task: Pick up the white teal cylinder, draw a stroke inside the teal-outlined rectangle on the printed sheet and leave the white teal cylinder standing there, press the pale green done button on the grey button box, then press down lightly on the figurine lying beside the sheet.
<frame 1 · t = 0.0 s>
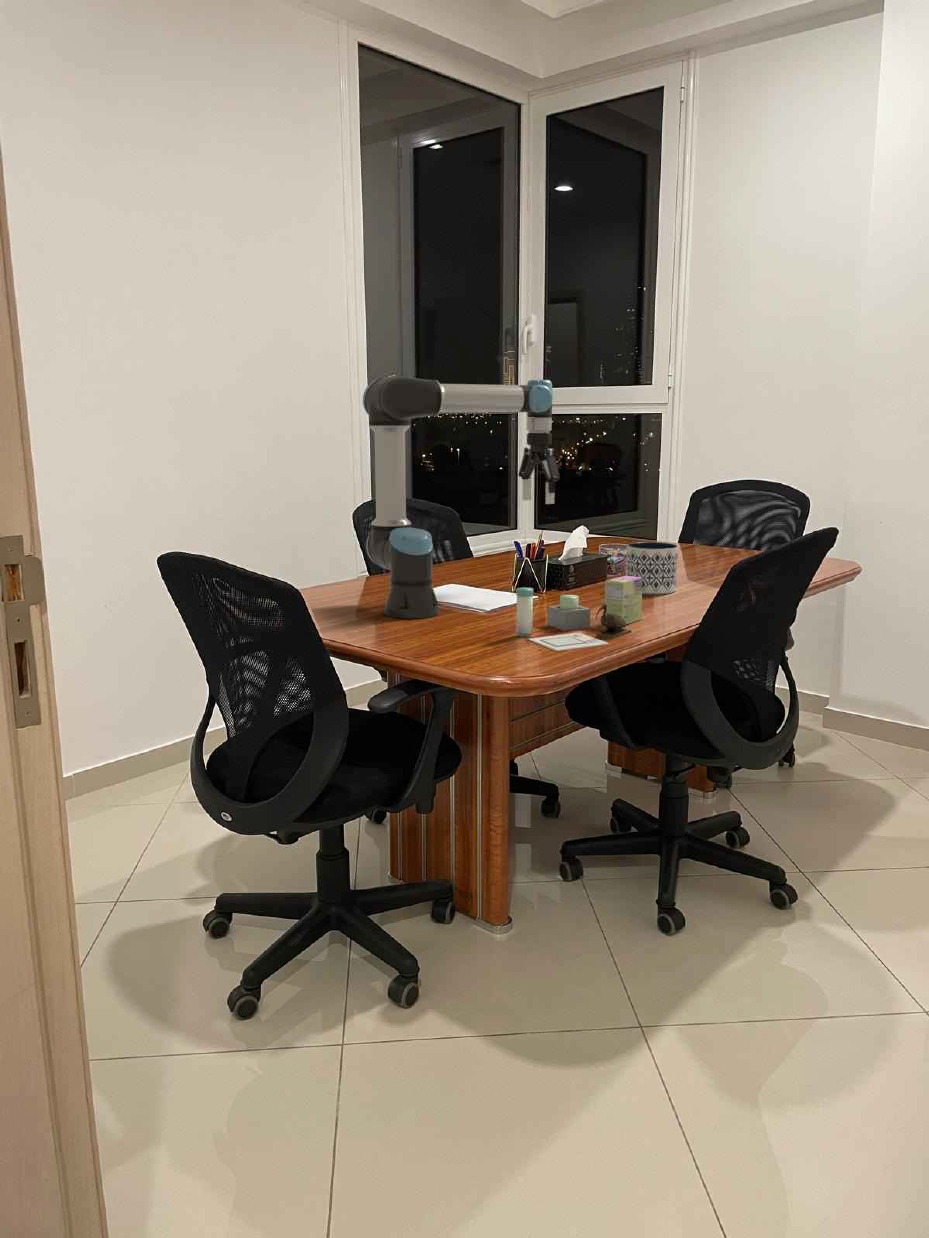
hand: (538, 502, 296), 28 cm above the table, fingers open, 13 cm apart
button box: (568, 626, 252), on the table
figurine: (610, 637, 241), on the table
white teal cylinder: (524, 635, 241), on the table
box: (622, 622, 257), on the table
done button: (569, 607, 251), point 5 cm above the table, slide at 0.0 cm
planter: (650, 591, 303), on the table
sheet: (568, 642, 234), on the table
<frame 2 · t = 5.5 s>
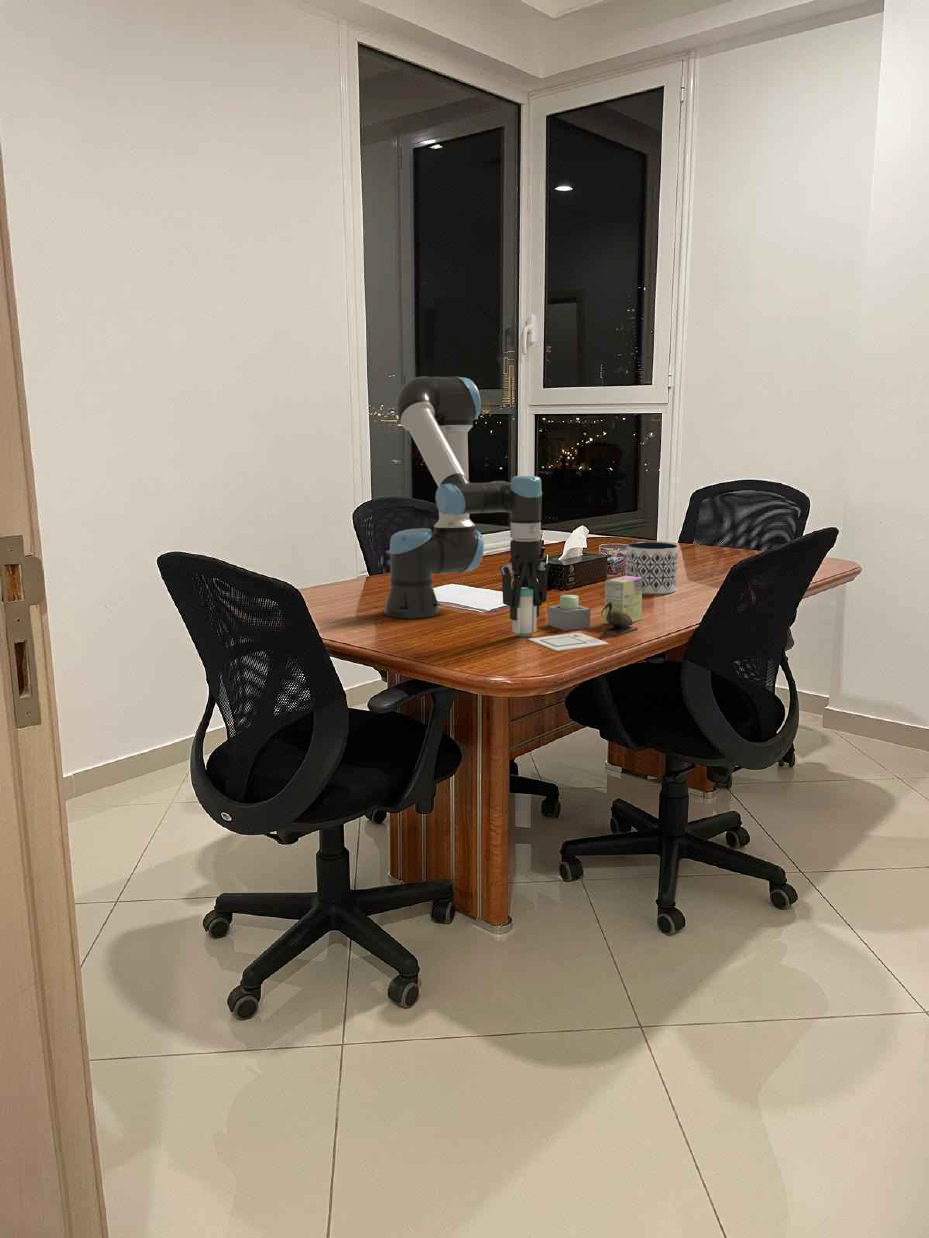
hand: (524, 631, 241), 1 cm above the table, fingers closed on white teal cylinder, 4 cm apart
figurine: (615, 634, 244), on the table
white teal cylinder: (524, 635, 241), on the table, touching gripper
everything else where it was.
when the fingers open (2 cm above the table, at t = 10.0 s): white teal cylinder stays where it is, resting on sheet.
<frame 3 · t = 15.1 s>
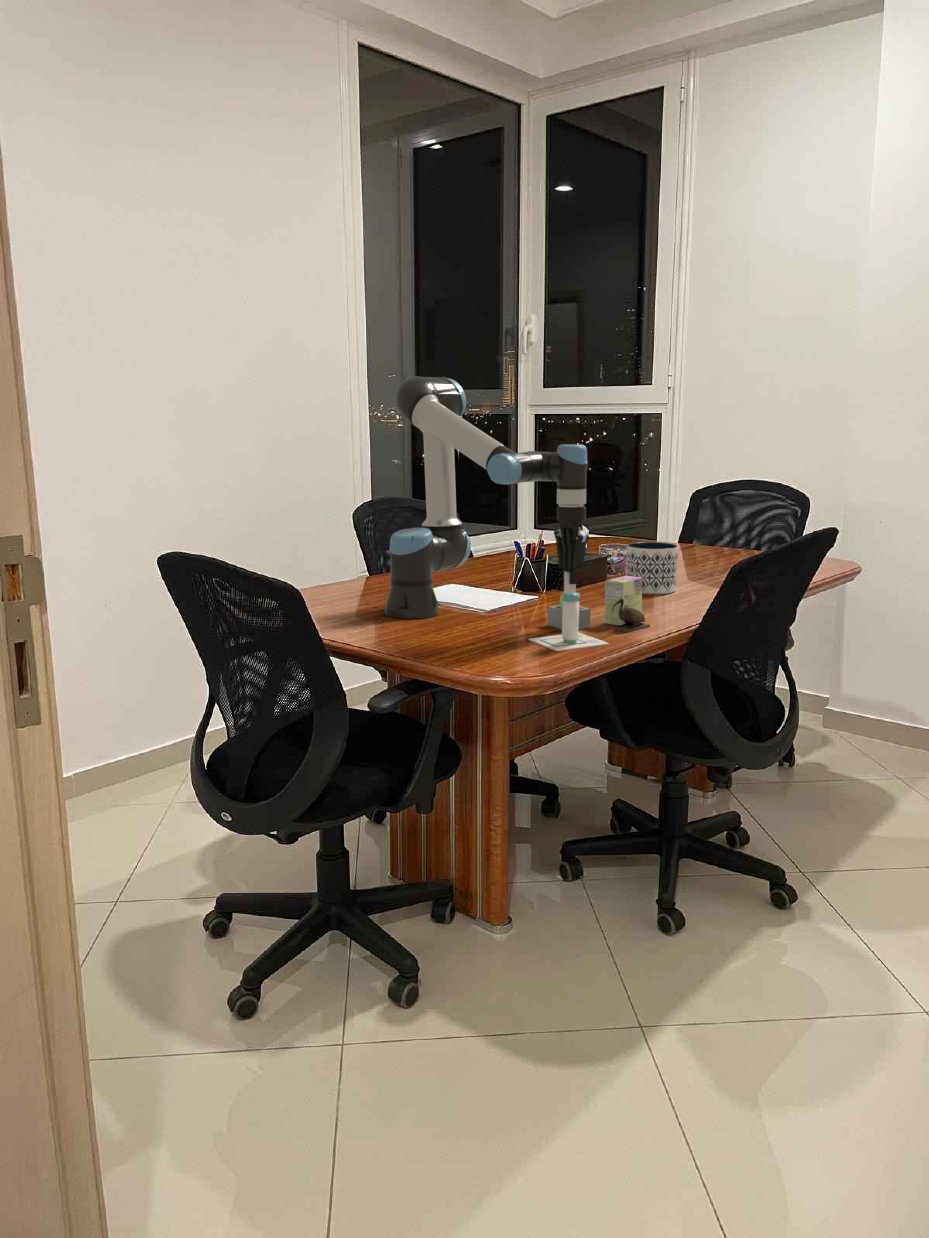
hand: (569, 595, 250), 8 cm above the table, fingers closed
figurine: (627, 630, 248), on the table
white teal cylinder: (570, 642, 233), resting on sheet
done button: (569, 607, 251), point 5 cm above the table, slide at 0.1 cm, touching gripper
everything else where it was.
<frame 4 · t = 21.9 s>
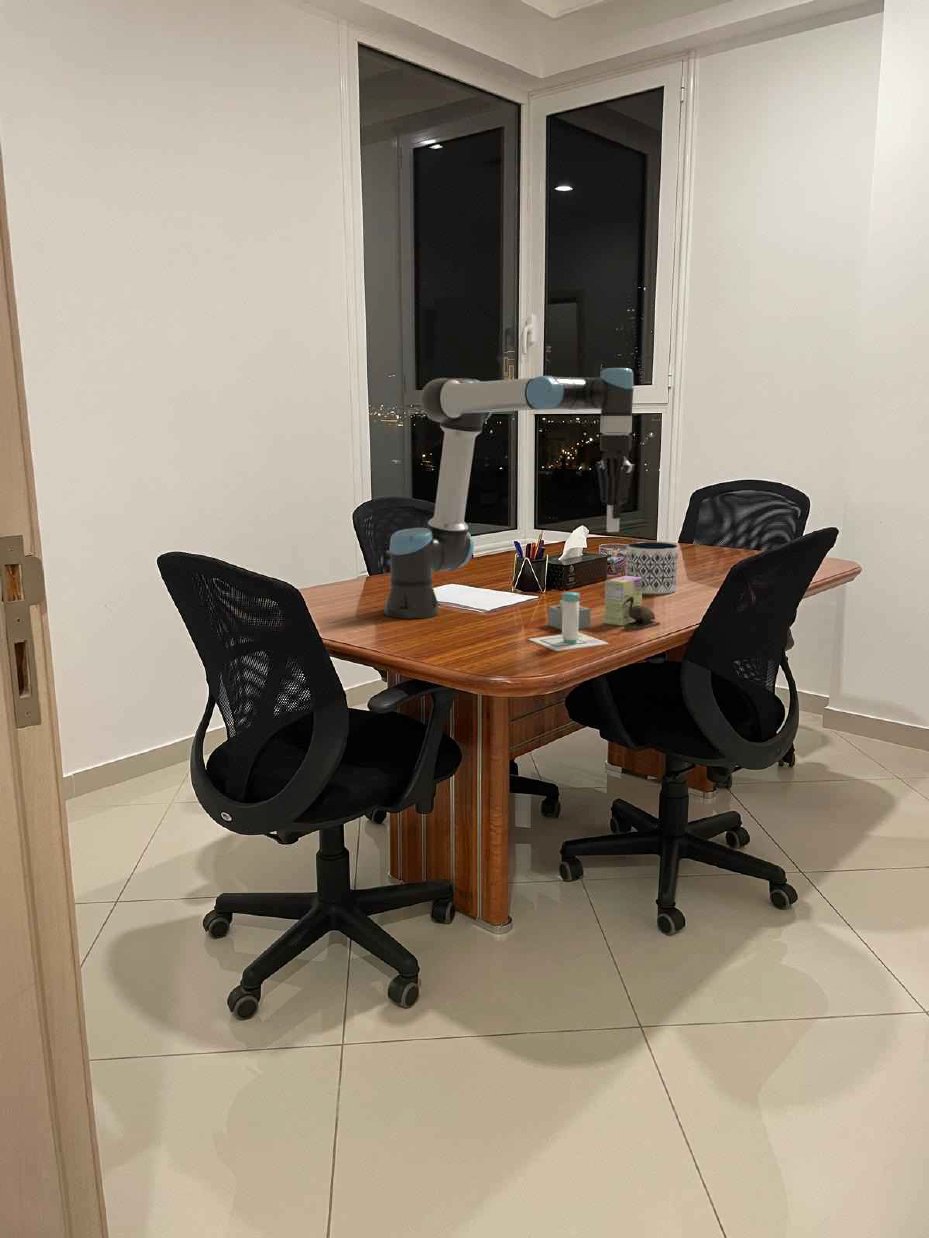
hand: (612, 531, 235), 26 cm above the table, fingers closed
figurine: (637, 628, 251), on the table
done button: (569, 612, 251), point 4 cm above the table, slide at 1.2 cm
everything else where it was.
at the end: white teal cylinder inside the target area on the sheet (1.8 cm from its centre), point 0.4 cm above the sheet's base; done button slide at 1.2 cm; figurine touching table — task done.
